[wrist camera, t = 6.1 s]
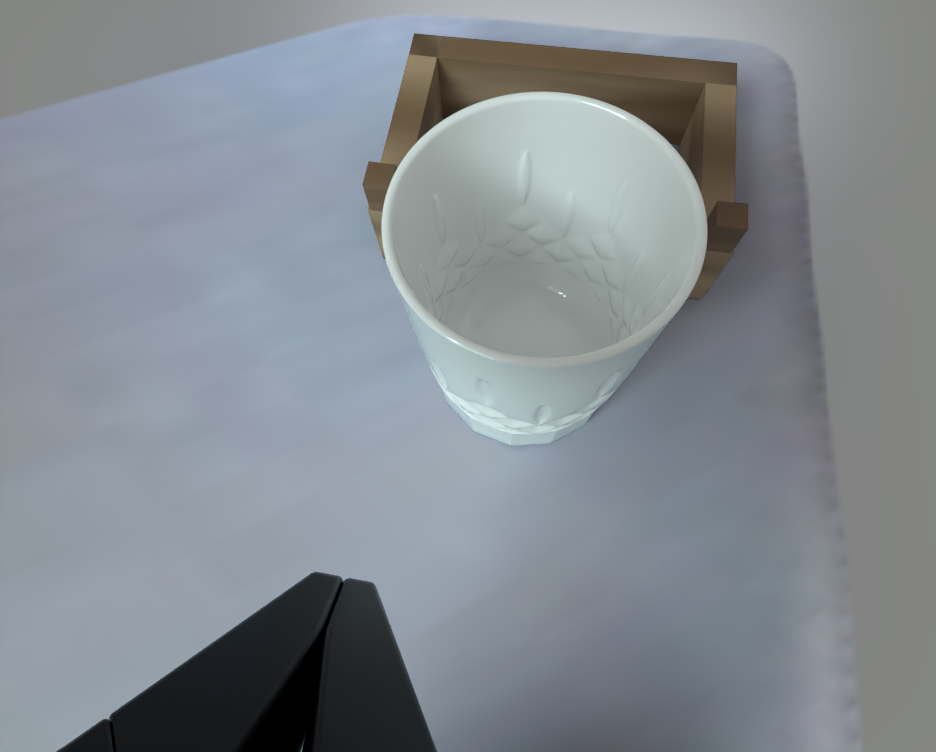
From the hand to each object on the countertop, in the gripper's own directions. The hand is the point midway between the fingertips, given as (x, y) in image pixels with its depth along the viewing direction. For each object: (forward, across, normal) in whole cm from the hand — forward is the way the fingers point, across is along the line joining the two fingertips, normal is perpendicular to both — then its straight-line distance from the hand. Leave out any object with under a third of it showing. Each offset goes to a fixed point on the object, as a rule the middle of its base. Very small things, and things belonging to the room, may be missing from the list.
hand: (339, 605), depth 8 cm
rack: (+21, -4, -7) cm, 22 cm away
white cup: (+16, -4, 0) cm, 17 cm away
